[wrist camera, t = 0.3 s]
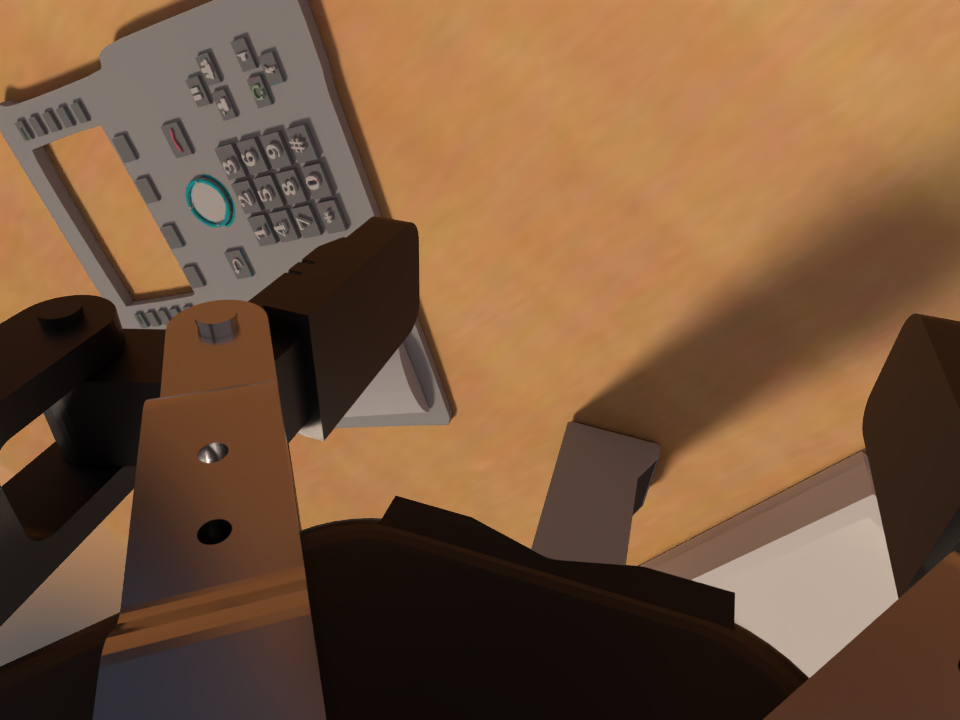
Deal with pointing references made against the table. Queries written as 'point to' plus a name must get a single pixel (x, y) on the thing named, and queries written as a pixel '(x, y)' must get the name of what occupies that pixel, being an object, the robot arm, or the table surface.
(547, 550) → the vintage mobile phone
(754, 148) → the table surface
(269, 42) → the office telephone
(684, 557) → the tray
